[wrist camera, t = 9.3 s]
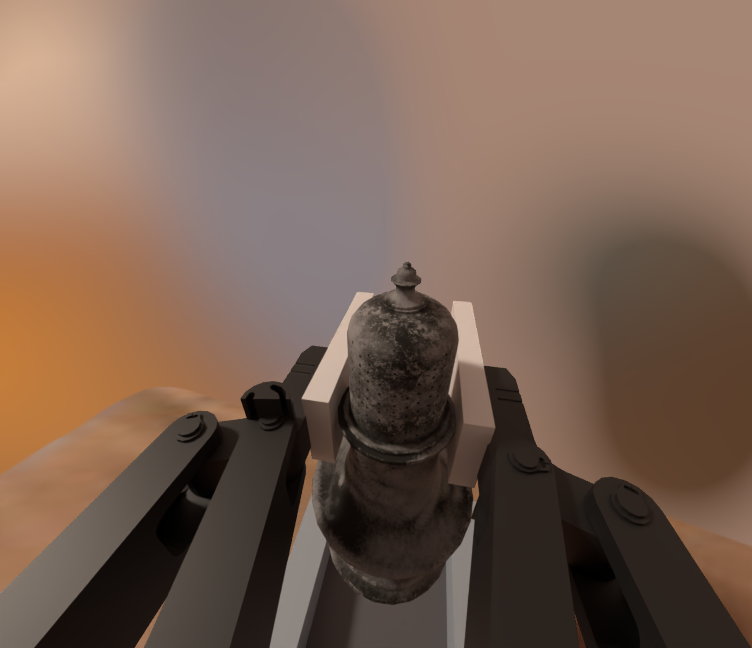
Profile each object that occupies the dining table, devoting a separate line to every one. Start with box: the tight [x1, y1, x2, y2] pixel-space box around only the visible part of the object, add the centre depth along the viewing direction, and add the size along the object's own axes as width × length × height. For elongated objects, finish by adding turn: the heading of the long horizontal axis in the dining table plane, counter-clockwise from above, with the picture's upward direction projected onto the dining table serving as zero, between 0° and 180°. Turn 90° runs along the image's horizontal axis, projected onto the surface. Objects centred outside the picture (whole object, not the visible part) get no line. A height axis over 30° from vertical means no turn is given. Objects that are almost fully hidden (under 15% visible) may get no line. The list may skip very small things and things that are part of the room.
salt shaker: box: [312, 262, 473, 605], centre depth 10 cm, size 6×6×12 cm
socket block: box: [270, 495, 476, 648], centre depth 18 cm, size 12×12×3 cm
